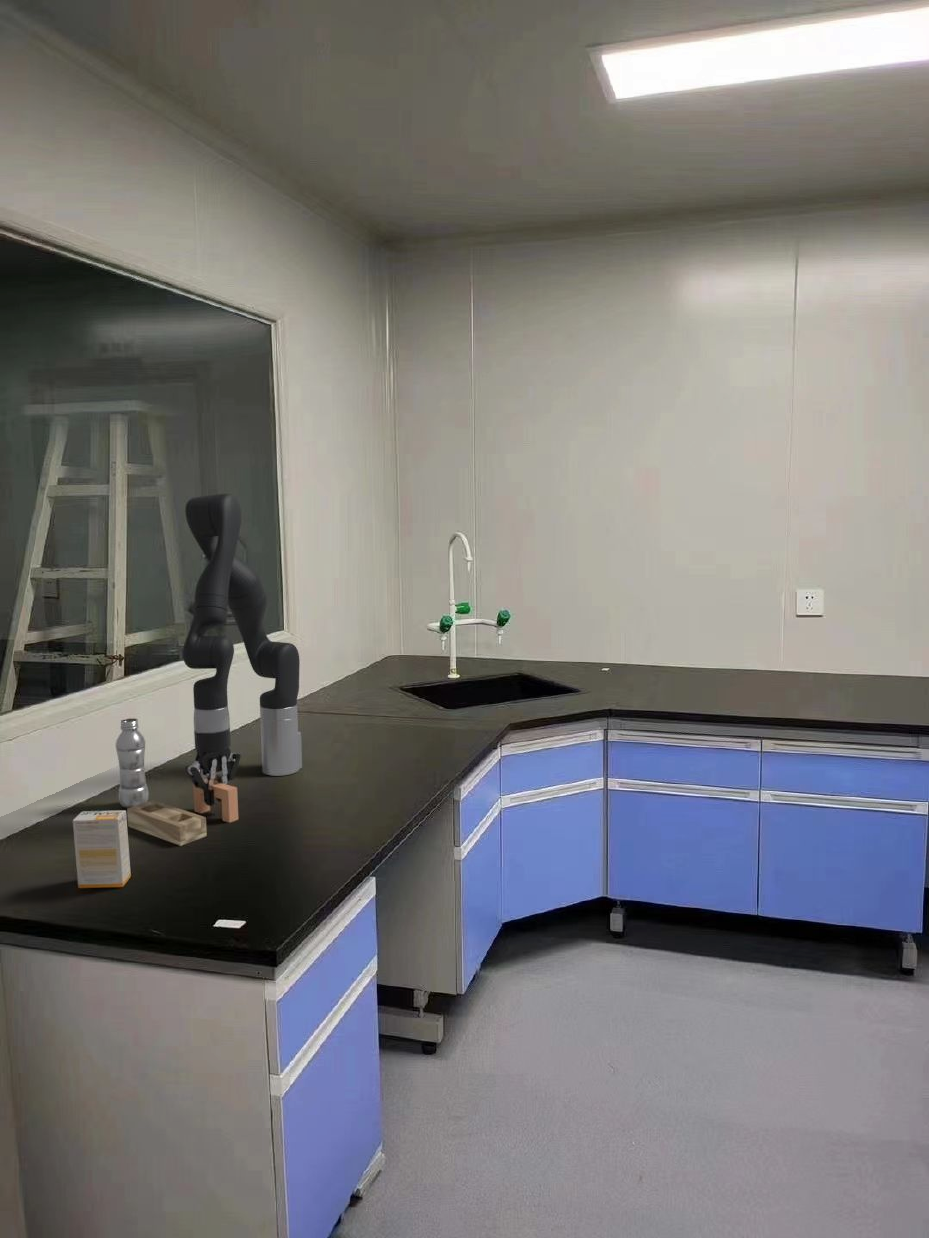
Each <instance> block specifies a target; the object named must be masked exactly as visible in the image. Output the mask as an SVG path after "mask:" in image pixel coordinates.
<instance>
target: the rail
mask: <svg viewBox="0 0 929 1238" xmlns="http://www.w3.org/2000/svg"><path fill="white" fill-rule="evenodd" d="M126 810H127V811H126V815H127V828H128V827H129V828H131V829H134V830H136V831H140V832H142V833H144V834H147V835H150V836H153V837H155V838H159V839H162V840H164V841H166V842H170V843H172V844H175V845H178V846H180V847H182V846H183V845H187V844H189V843H192V842H194V841H197V840H200V839H203V838H205V837H207V818H206V816H202V815H200V814H196V813H194V812H191V811H187V810H184V809H181V808H178V807H175V806H172V805H169V804H166V803H162V802H160V801H157V800H154V799H152V800H149V801H147V802H146V803H143V804H140V805H136V806H133V807H130V808H126Z"/></svg>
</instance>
